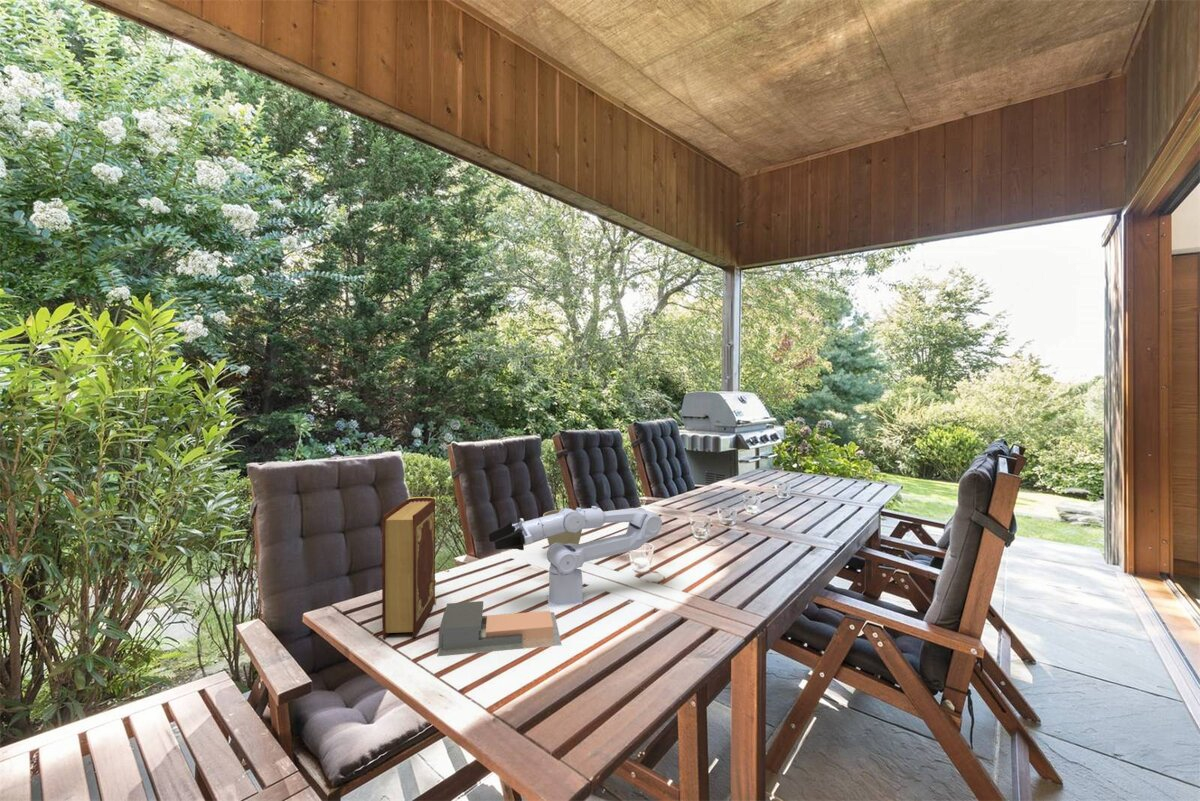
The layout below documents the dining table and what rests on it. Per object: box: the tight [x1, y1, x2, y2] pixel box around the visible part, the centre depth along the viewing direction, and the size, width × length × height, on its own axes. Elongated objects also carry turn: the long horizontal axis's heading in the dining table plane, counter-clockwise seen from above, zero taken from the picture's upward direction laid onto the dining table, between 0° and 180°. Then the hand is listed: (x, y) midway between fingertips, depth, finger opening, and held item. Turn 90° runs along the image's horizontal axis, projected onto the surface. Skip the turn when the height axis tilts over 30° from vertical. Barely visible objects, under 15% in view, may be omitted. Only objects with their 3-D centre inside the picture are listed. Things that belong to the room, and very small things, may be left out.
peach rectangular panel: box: [486, 610, 553, 639], centre depth 124 cm, size 16×9×2 cm, turn 101°
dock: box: [436, 600, 562, 657], centre depth 123 cm, size 28×18×6 cm, turn 101°
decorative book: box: [381, 496, 437, 641], centre depth 131 cm, size 22×8×30 cm, turn 5°
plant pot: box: [542, 509, 583, 547], centre depth 181 cm, size 15×15×16 cm
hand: (492, 541), depth 134 cm, fingers open, 7 cm apart
